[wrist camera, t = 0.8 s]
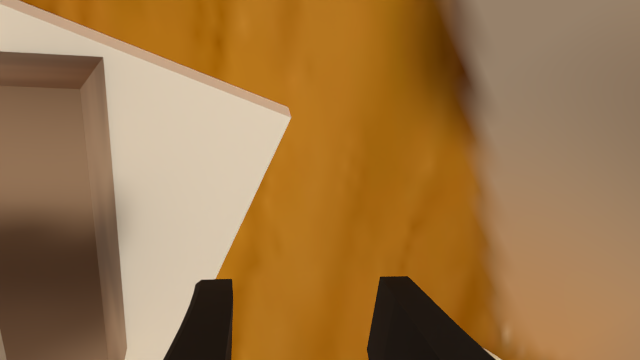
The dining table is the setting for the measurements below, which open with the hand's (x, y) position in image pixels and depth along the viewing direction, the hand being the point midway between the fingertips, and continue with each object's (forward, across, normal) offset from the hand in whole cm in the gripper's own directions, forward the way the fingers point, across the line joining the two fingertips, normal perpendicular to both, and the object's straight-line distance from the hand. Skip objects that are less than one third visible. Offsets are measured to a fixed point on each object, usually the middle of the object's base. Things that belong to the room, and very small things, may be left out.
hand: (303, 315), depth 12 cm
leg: (+8, +7, +3) cm, 11 cm away
